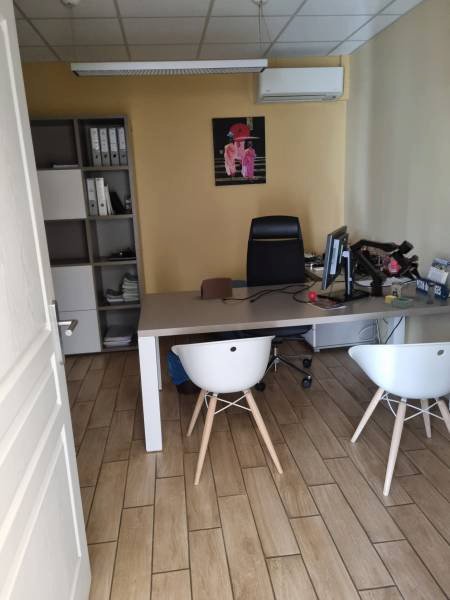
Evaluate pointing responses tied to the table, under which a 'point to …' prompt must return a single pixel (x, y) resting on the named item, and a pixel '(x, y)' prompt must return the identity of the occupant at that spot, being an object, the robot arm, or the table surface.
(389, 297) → the chock
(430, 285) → the stop pin
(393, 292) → the trolley castor
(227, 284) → the letter holder
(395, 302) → the parts tray
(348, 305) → the table surface
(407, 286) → the mechanical component
